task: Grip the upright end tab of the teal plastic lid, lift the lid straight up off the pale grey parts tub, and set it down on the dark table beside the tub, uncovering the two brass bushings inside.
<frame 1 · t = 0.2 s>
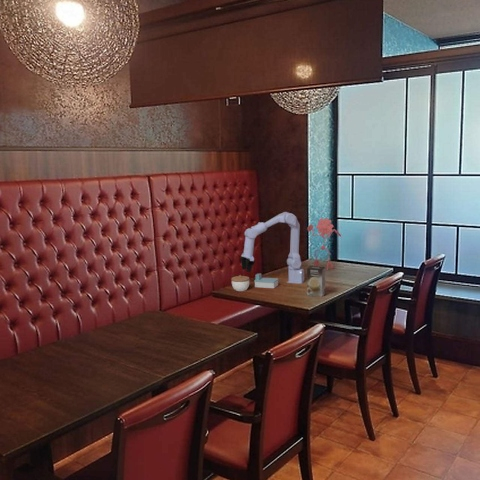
hand: (246, 270, 318), 11 cm above the table, tool pointing down, fingers open, 7 cm apart
bushing a: (271, 286, 318), point 1 cm above the table, touching tub
tub: (266, 286, 319), on the table
lid: (266, 278, 318), point 5 cm above the table, touching tub
coffee box: (316, 295, 298), on the table
bushing b: (261, 285, 320), point 1 cm above the table, touching tub
red flower sprig: (325, 268, 364), on the table
lidded jar: (240, 291, 313), on the table
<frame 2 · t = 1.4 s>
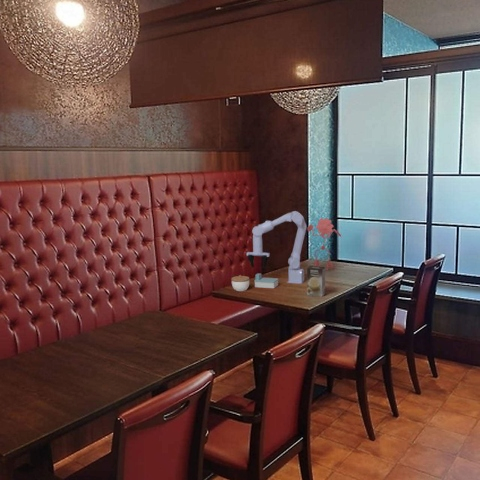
hand: (258, 267, 325), 10 cm above the table, tool pointing down, fingers open, 7 cm apart
nothing on the table moved.
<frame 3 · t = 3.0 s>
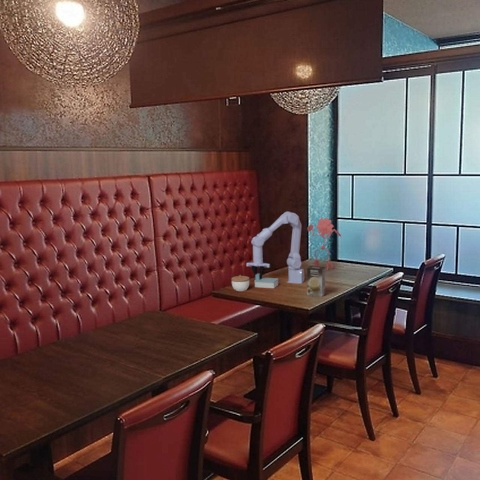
hand: (258, 278, 320), 5 cm above the table, tool pointing down, fingers closed on lid, 2 cm apart
lid: (266, 278, 318), point 5 cm above the table, touching gripper, tub
everything else where it was.
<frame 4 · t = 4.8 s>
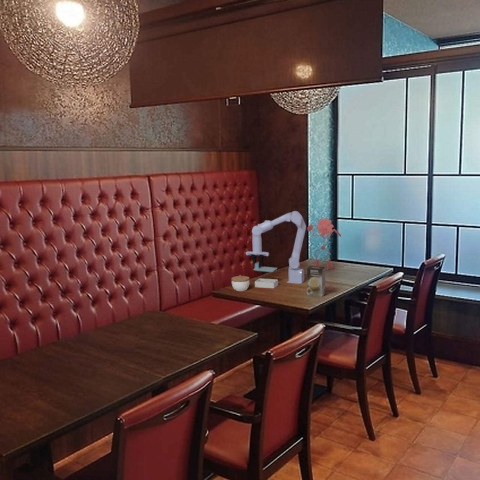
hand: (257, 266, 327), 10 cm above the table, tool pointing down, fingers closed on lid, 2 cm apart
lid: (265, 267, 325), point 10 cm above the table, touching gripper
everything else where it was.
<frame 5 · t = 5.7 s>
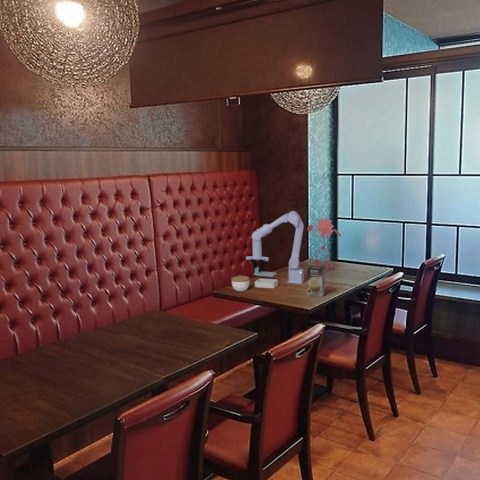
hand: (257, 271, 330), 7 cm above the table, tool pointing down, fingers closed on lid, 2 cm apart
lid: (265, 272, 328), point 7 cm above the table, touching gripper
everything else where it was.
when the fingers open (3 cm above the table, at t = 6.6 s): lid drops 1 cm, on the table.
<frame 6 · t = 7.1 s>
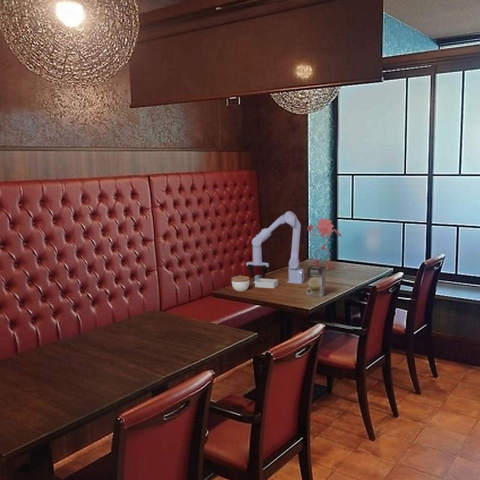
hand: (258, 277, 331), 3 cm above the table, tool pointing down, fingers open, 7 cm apart
lid: (265, 279, 329), on the table
everything else where it was.
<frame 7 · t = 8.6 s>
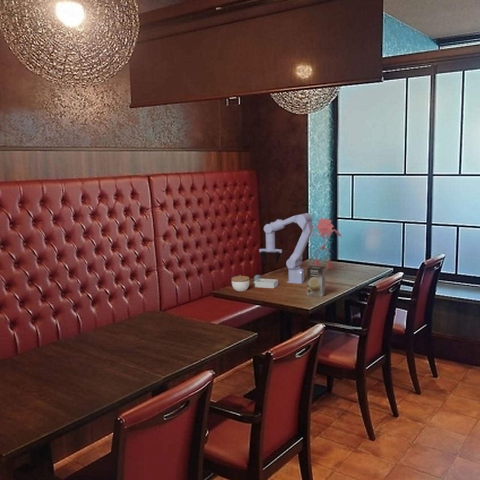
hand: (271, 263, 335), 10 cm above the table, tool pointing down, fingers open, 7 cm apart
nothing on the table moved.
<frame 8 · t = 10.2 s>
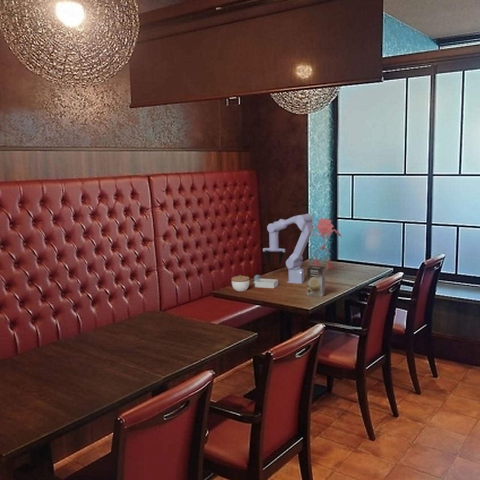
hand: (274, 262, 337), 10 cm above the table, tool pointing down, fingers open, 7 cm apart
nothing on the table moved.
at the end: lid moved 11.1 cm from its start; lid on the table; lid touching table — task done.
